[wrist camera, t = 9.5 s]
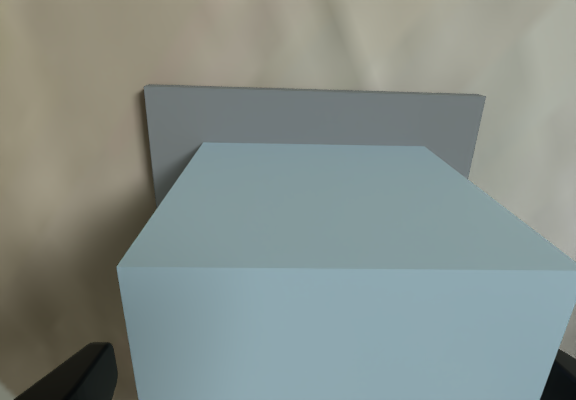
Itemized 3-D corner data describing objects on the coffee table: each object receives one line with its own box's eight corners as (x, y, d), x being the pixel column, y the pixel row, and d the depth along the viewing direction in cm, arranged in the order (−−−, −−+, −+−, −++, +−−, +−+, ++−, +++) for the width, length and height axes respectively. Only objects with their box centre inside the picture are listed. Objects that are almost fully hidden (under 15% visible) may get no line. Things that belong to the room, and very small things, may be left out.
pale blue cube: (396, 322, 15) (486, 544, 8) (213, 322, 15) (163, 548, 8) (424, 146, 12) (587, 270, 6) (203, 142, 12) (115, 266, 6)
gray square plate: (424, 348, 16) (428, 357, 16) (175, 345, 16) (171, 355, 15) (477, 94, 12) (485, 96, 12) (149, 84, 12) (143, 86, 11)
